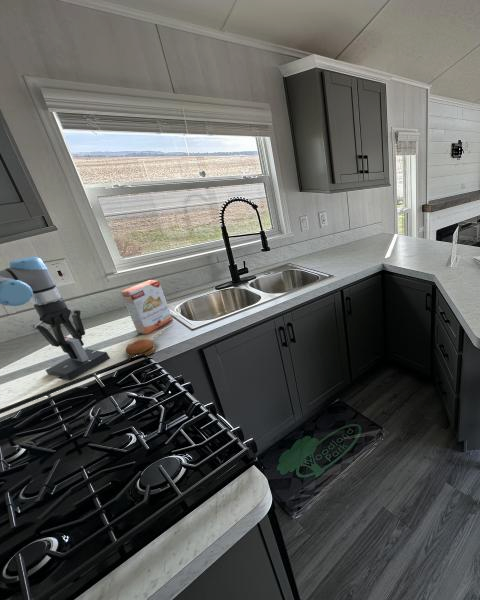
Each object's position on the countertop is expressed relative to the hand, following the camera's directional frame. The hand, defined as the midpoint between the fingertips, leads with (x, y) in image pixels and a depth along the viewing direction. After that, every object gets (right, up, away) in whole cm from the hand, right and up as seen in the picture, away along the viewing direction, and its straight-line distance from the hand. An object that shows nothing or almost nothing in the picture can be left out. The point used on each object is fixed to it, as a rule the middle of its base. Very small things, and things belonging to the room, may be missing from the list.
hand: (78, 356), depth 125 cm
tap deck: (0, -4, +1) cm, 5 cm away
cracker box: (+9, +9, +29) cm, 31 cm away
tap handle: (0, -1, +1) cm, 1 cm away
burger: (+18, 0, +9) cm, 20 cm away
